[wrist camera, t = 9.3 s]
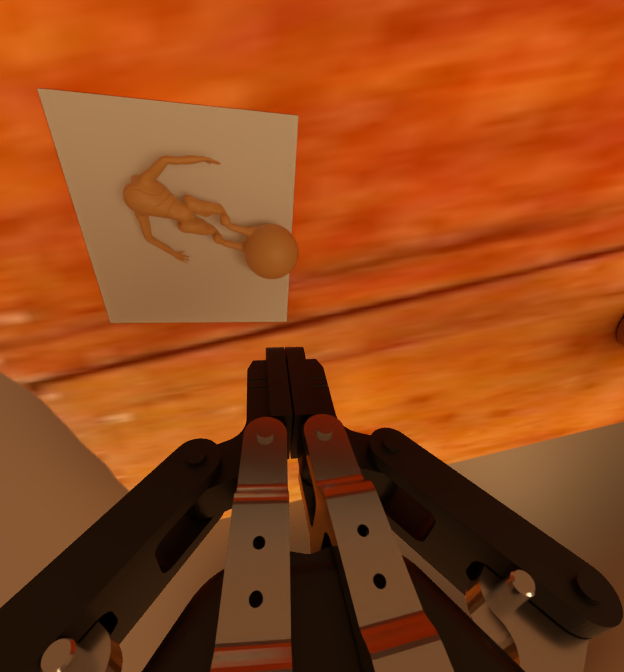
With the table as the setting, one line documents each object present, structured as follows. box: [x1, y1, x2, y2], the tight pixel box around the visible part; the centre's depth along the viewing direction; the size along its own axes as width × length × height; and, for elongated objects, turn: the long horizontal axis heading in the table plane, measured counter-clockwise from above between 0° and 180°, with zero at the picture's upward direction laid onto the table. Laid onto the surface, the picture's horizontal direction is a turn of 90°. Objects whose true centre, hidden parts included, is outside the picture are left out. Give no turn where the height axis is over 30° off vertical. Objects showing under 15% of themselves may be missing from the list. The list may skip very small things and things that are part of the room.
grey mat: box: [37, 88, 298, 323], centre depth 25 cm, size 15×16×1 cm
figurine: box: [123, 155, 298, 279], centre depth 23 cm, size 8×6×12 cm
